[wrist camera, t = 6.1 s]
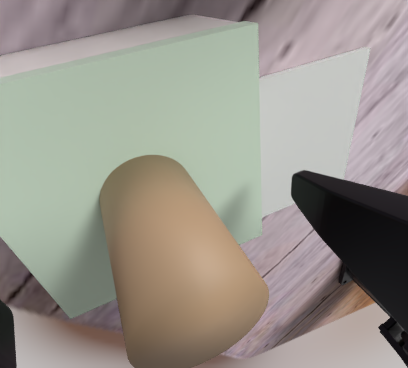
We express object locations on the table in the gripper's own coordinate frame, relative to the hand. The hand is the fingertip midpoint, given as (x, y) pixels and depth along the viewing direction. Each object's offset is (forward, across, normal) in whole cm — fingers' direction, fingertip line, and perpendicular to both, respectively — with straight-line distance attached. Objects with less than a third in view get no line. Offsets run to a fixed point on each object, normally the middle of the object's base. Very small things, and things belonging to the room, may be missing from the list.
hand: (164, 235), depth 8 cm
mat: (+7, -10, +4) cm, 13 cm away
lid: (+3, 0, 0) cm, 3 cm away
